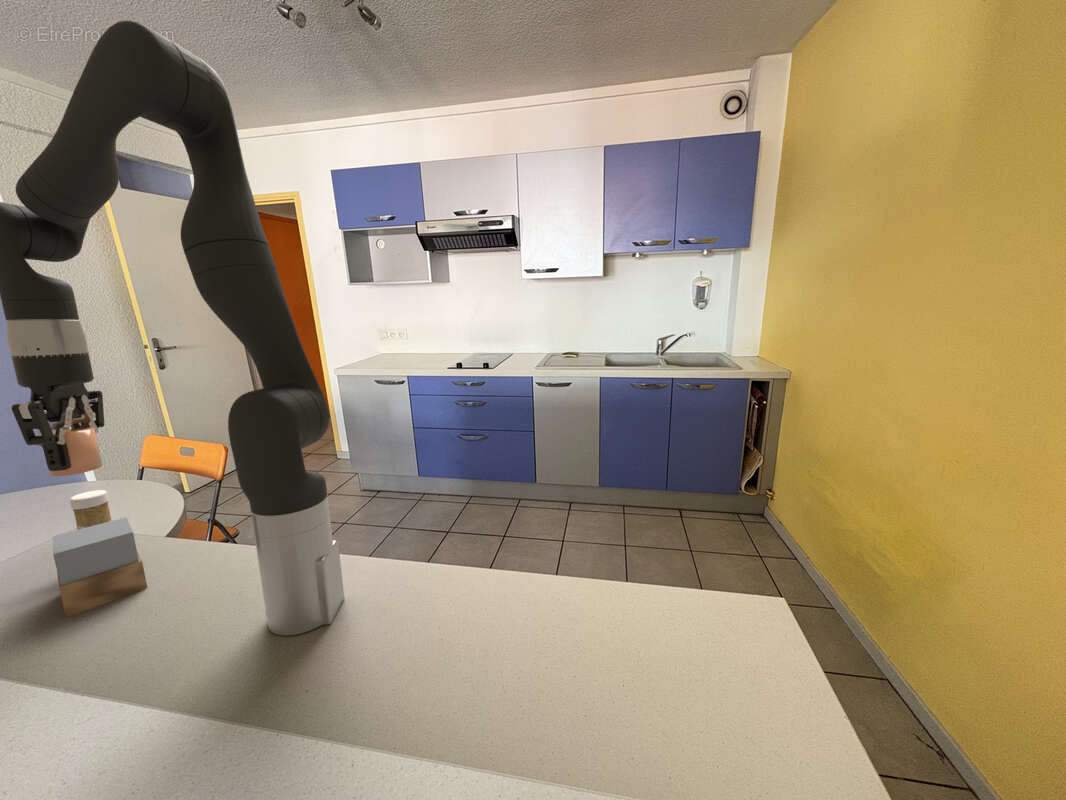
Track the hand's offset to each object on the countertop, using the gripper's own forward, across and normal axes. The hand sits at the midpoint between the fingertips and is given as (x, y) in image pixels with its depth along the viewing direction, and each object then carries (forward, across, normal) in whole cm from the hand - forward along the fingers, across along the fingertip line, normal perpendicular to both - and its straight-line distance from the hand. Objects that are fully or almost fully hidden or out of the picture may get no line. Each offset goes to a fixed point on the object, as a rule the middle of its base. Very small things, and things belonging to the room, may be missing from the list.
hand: (75, 463), depth 65 cm
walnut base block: (+22, 0, 0) cm, 22 cm away
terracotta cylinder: (+1, 0, 0) cm, 1 cm away
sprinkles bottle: (+22, +10, +5) cm, 25 cm away
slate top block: (+17, 0, 0) cm, 17 cm away
